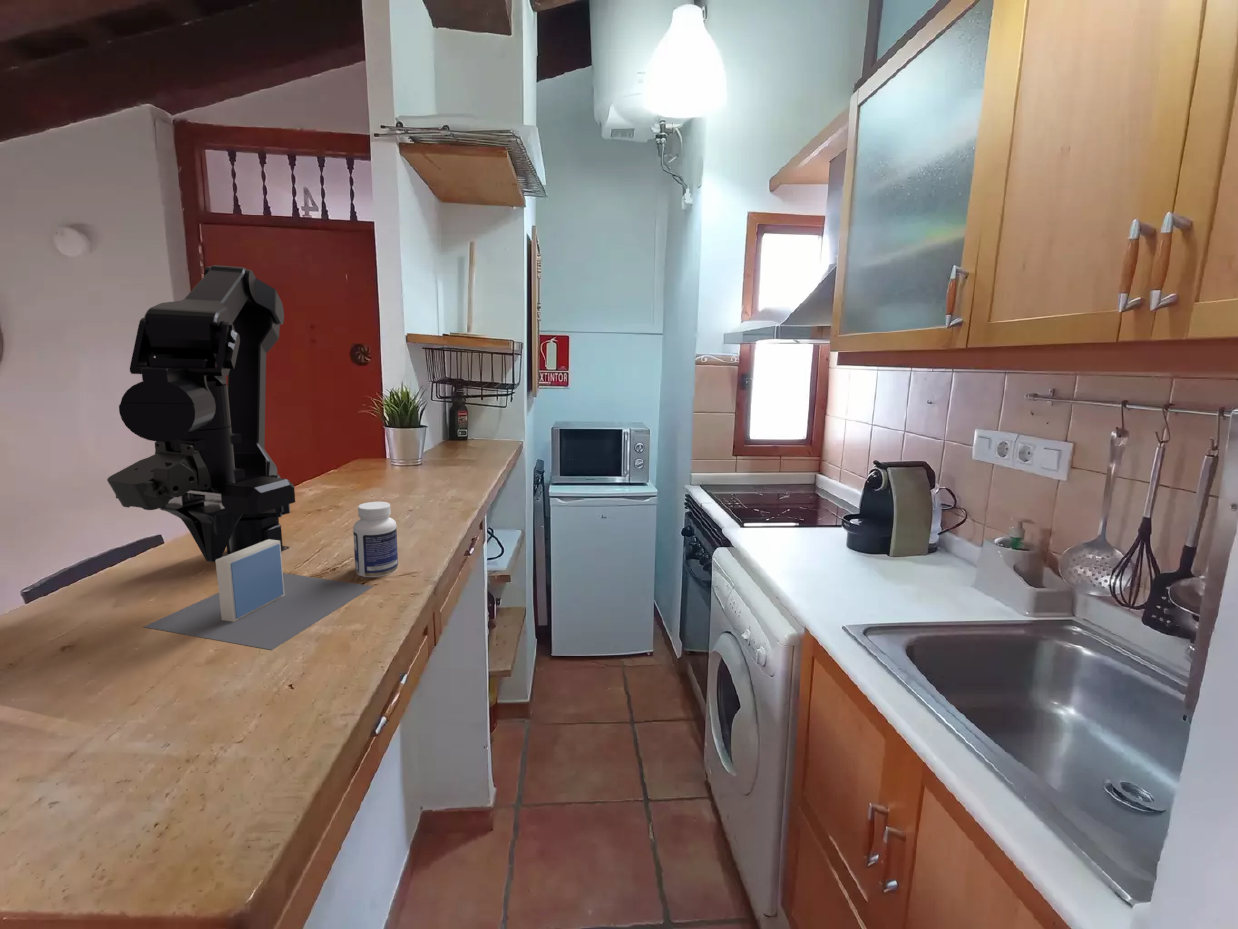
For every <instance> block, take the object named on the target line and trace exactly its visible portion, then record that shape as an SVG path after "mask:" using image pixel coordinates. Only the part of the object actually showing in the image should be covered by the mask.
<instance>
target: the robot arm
mask: <svg viewBox="0 0 1238 929" xmlns="http://www.w3.org/2000/svg"><path fill="white" fill-rule="evenodd" d="M203 275H204V276H203V277H202V279H200V281H199V282H197V284H196V285H195V286H194V287H193V288H192V290H190V292H189V293H188V294H187V295H186V296H185V297H184V299H181V300H176V301H175V300H174V301H167V302H166V301H165V302H161V303H158V304H155V305H153V306H152V307H150V308H148V309H147V310H146V312H145V314H144V316H143V317H141V319H140V320H139V324H138V327H137V330H136V337H135V341H134V346H133V351H132V356H131V360H130V361H131V362H130V364H129V365H130V366H129V372H130V374H131V375H141V378H142V380H141V381H139V382H138V383H135V384H134V385H132V386H130V387H129V388H128V389H126V391H125V393H123V396H122V397H121V401H120V404H118V412H119V415H120V419H121V420H122V422H123V424H124V426H125V427H126V428H127V429H128V430H129V431H130V432H131V433H132V434H135V435H137V436H138V437H140V438H142V439H145V440H147V441H151V442H154V449H155V450H154V454H153V455H151V456H148V457H145V458H143V459H140V460H138V461H136V462H134V463H132V464H130V465H128V466H126V467H125V468H123V469H121V470H119V471H117V472H116V473H113V474H111V475H109V476H108V478H107V482H108V484H109V486H110V488H111V489H112V491H113V493H114V494H115V498H116V499H118V501H119V503H120V504H121V506H122V507H123V508H127V509H128V508H130V507H133V508H141V509H143V510H145V511H154V510H161V511H165V512H167V513H169V514H171V515H173V516H175V517H177V518H179V519H180V520H181V521H182V522H183V523H184V525H185V526H186V528H187V530H188V531H189V533H190V535H191V536H192V538H193V540H194V541H195V543H196V545H197V547H198V548H199V550H200V552H201V554H202V555H203V557H204V559H205V561H206V562H209V563H216V561H215V560H216V559H219V558H221V557H224V556H227V555H229V554H232V553H234V552H237V551H239V550H242V549H245V548H247V547H250V546H252V545H255V544H258V543H260V542H263V541H265V540H268V539H271V540H279V541H280V544H281V553H283V552H284V551H286V550H289V549H290V546H285V545H283V533H282V525H281V524H280V521H279V518H282V517H283V516H284V515H287V514H290V513H291V504H294V503H296V491H295V485H294V484H293V483H292V482H291V481H290V480H289V479H287V478H281V476H280V474H278V467H277V465H276V463H275V462H274V461H273V459H272V457H271V456H270V455H269V454H268V452H267V451H266V450H265V448H266V447H265V442H266V441H265V440H266V439H265V438H266V437H265V435H266V429H265V428H266V390H267V387H266V384H267V382H266V380H267V378H266V377H267V354H268V352H269V351H270V350H271V349H272V348H273V347H274V345H275V344H276V343H277V342H278V341H279V338H280V328H281V325H284V321H285V313H284V312H285V310H284V304H283V302H282V300H281V298H280V296H279V294H278V292H277V290H276V288H274V287H272V286H271V285H268V284H267V283H265V282H263V281H262V280H260V279H259V278H257V277H256V276H255V274H254V272H253V270H252V269H247V268H246V267H241V266H229V265H217V264H216V265H215V264H213V265H211V266H206V267H205V268H204V273H203ZM225 551H226V552H225Z"/></svg>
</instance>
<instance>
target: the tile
mask: <svg viewBox="0 0 1238 929" xmlns="http://www.w3.org/2000/svg"><path fill="white" fill-rule="evenodd" d="M282 559H283V558H282V552H281V544H280V541H279V540H271V539H268V540H265V541H263V542H260V543H258V544H255V545H252V546H250V547H247V548H245V549H242V550H239V551H237V552H234V553H232V554H229V555H227V556H224V557H223V556H222V557H221V558H219V559H216V560H215V561H216V562H215V570H216V578H217V587H218V593H219V599H220V608H221V617H222V620H225V621H231V622H235V621H237V620H239V619H241V618H243V617H244V616H246V615H248V614H250V613H252V612H254V611H256V610H258V609H260V608H262V607H264V606H265V605H267V604H269V603H271V602H273V601H275V600H277V599H279V598H281V597H283V596H285V594H284V581H283V573H284V572H283V560H282Z"/></svg>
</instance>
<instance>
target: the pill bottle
mask: <svg viewBox="0 0 1238 929" xmlns="http://www.w3.org/2000/svg"><path fill="white" fill-rule="evenodd" d="M357 511H358V512H357V513H358V514H357V516H358V518H360V519H359V520H357V521H355V523H354V525H353V527H352V528H353V530H352V532H353V533H352V535H353V551H354V566H355V568H354V569H355V570H354V571H355V573H356V575H357V576H361V577H364V578H379V577H385V576H388V575H392V574H394V573H395V572H397V570H398V569H399V561H398V560H399V558H398V556H399V554H398V531H397V530H398V529H397V522H396V520H395V519H393V518H392V517H390V516H391V504H390V503H389V502H386V501H368V502H364V503H360V504H359V505H358V507H357Z"/></svg>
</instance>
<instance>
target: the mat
mask: <svg viewBox="0 0 1238 929" xmlns="http://www.w3.org/2000/svg"><path fill="white" fill-rule="evenodd" d="M283 581H284V594H285V596H283V597H281V598H279V599H277V600H275V601H273V602H271V603H269V604H267V605H265V606H264V607H262V608H260V609H258V610H256V611H254V612H252V613H250V614H248V615H246V616H244V617H243V618H241V619H239V620H237V621H235V622H231V621H225V620H222V617H221V608H220V599H219V592H217V593H214V594H212V595H210V596H208V597H206V598H203V599H202V600H199V601H196V602H195V603H192V604H190V605H188V606H186V607H183V608H181V609H180V610H178V611H175V612H173V613H170V614H168V615H165V616H164V617H162V618H159V619H157V620H154V621H153V622H151V623H149V624H147V625H144V626H143V628H147V629H150V630H158V631H162V632H163V631H164V632H169V633H174V634H179V635H184V636H185V635H186V636H190V637H196V638H201V639H207V640H213V641H219V642H225V643H229V644H235V645H241V646H246V647H251V648H257V649H263V650H268V651H273V650H274V649H276V648H279V646H282V645H283V644H284V643H286V642H288V641H289V640H291V639H293V637H295V636H297V635H298V634H300V633H301V632H303V631H304V630H307V629H308V628H310V627H311V626H313V625H315V624H317V623H318V622H319V621H320V620H323V619H324V618H325V617H328V616H329V615H330V614H332V613H334V612H335V611H337V610H338V609H340V608H341V607H344V606H345V605H346V604H348V603H349V602H351V601H353V600H354V599H356V598H358V597H359V596H361V595H363V594H364V593H366V592H367V591H369V590H370V589H372V588H373V587H374V586H373V585H369V584H368V585H367V584H362V583H355V582H348V581H347V582H346V581H340V580H333V579H327V578H320V577H312V576H306V575H300V574H299V575H298V574H293V573H286V572H285V573H284V572H283Z"/></svg>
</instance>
